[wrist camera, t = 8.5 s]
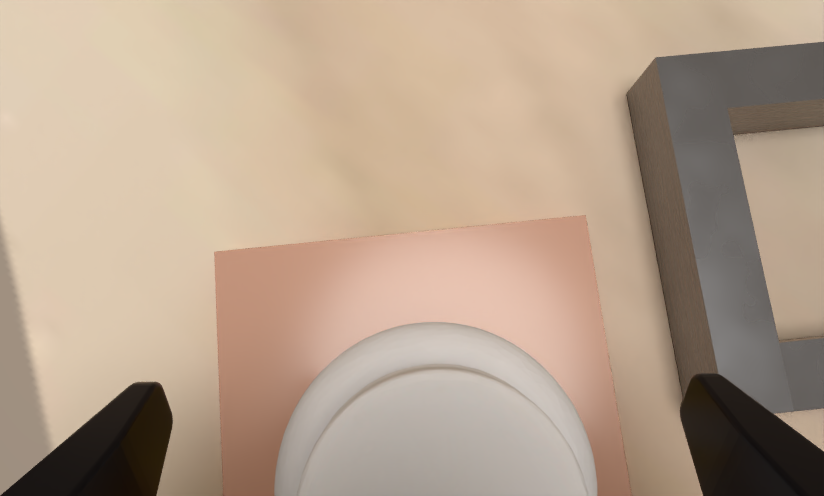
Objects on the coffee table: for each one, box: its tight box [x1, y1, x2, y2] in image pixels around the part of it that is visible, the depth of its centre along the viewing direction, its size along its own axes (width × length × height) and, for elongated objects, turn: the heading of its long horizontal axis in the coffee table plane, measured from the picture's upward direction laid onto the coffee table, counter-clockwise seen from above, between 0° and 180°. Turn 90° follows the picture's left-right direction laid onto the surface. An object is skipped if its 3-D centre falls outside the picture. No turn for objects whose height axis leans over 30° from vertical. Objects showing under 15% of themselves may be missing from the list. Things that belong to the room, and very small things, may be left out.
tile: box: [214, 215, 632, 496], centre depth 18 cm, size 12×12×1 cm
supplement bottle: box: [274, 322, 597, 496], centre depth 13 cm, size 6×6×10 cm
